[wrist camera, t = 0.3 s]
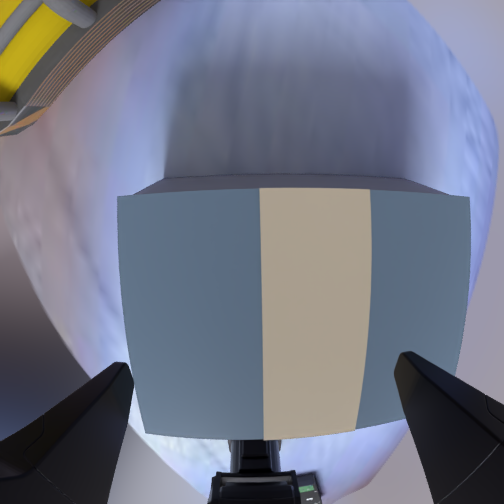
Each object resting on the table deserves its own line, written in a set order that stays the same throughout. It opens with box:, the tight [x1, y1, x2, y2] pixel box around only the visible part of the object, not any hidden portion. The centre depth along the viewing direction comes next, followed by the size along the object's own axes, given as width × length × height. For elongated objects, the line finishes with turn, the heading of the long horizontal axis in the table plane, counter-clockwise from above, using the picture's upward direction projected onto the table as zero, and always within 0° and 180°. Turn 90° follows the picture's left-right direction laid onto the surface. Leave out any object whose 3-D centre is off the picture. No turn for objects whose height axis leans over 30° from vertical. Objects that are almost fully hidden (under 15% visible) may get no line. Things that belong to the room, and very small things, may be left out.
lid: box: [117, 188, 471, 440], centre depth 13 cm, size 13×18×1 cm
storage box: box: [133, 174, 449, 195], centre depth 19 cm, size 13×18×7 cm
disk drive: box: [297, 474, 322, 504], centre depth 39 cm, size 10×3×15 cm
